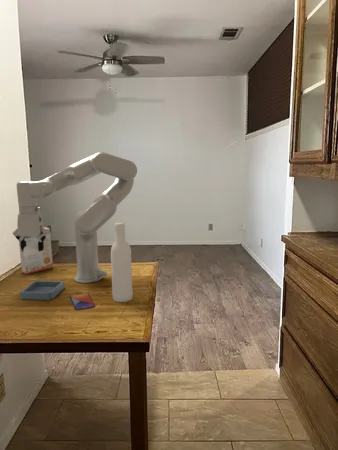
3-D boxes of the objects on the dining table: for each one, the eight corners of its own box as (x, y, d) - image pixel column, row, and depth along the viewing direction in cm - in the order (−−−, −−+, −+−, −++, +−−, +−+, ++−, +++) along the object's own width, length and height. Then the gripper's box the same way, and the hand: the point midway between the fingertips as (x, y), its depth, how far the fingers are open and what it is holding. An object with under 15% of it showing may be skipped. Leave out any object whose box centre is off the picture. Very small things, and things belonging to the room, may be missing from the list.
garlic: (41, 255, 151) (40, 246, 151) (24, 257, 148) (23, 248, 148) (38, 251, 158) (37, 242, 158) (22, 253, 155) (21, 245, 154)
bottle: (113, 295, 143) (110, 221, 138) (132, 294, 144) (130, 221, 138) (111, 302, 135) (108, 225, 130) (132, 301, 136) (130, 224, 131)
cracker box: (47, 266, 185) (44, 226, 181) (53, 268, 181) (50, 228, 177) (21, 272, 175) (17, 230, 172) (26, 274, 171) (22, 232, 167)
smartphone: (75, 312, 128) (75, 309, 128) (69, 297, 142) (69, 294, 142) (95, 308, 131) (95, 306, 131) (88, 294, 145) (88, 292, 145)
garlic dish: (65, 287, 152) (64, 281, 152) (51, 299, 139) (51, 293, 138) (35, 286, 154) (35, 280, 153) (19, 299, 140) (19, 292, 139)
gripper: (51, 208, 154) (55, 248, 157) (14, 209, 156) (18, 248, 159) (43, 211, 147) (47, 252, 150) (4, 211, 149) (9, 252, 152)
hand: (32, 250), depth 155 cm, fingers closed on garlic, 7 cm apart
